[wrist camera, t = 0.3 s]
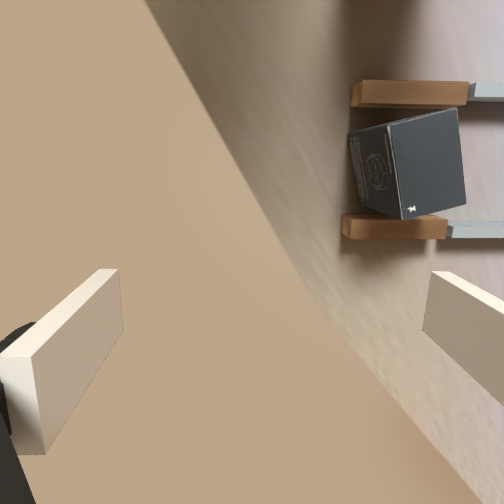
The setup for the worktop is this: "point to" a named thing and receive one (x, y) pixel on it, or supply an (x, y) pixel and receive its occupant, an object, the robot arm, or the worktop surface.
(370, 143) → the box
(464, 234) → the bay
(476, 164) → the worktop surface
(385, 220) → the brown bar
